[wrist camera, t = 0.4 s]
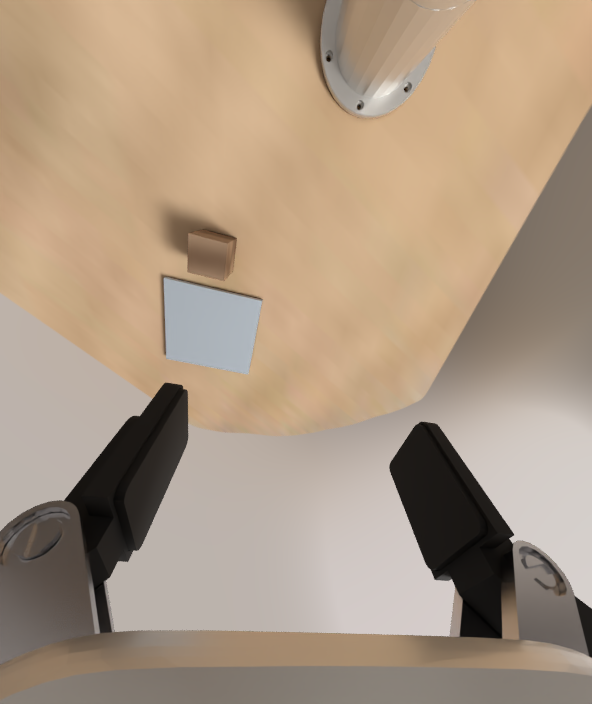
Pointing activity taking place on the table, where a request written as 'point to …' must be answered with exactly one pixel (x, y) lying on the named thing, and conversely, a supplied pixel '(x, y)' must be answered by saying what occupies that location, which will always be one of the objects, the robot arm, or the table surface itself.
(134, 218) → the table surface
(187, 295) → the slate board
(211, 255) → the walnut block
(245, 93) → the table surface
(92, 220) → the table surface
